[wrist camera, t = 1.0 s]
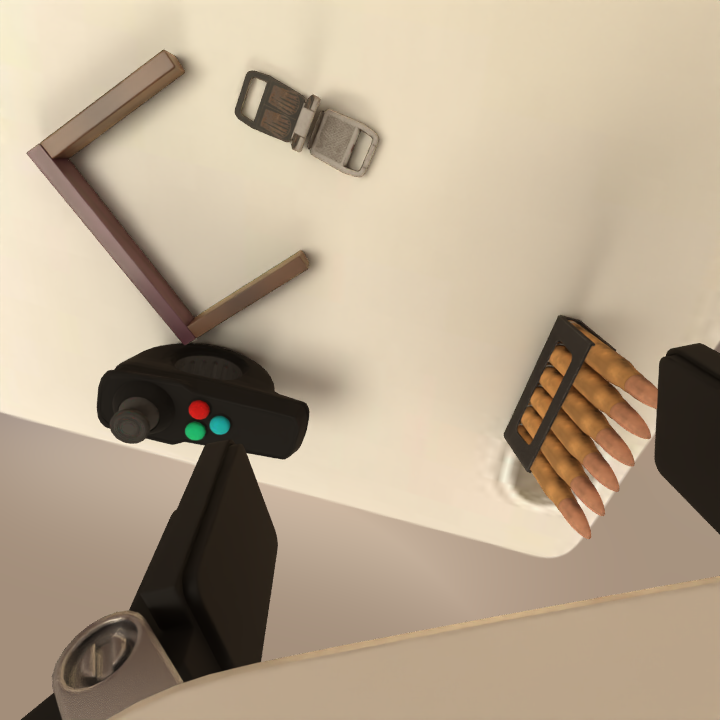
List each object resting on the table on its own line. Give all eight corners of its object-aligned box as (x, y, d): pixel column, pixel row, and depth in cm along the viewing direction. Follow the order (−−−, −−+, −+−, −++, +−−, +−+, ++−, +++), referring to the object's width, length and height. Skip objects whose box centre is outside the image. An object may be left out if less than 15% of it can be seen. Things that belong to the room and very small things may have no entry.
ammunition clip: (523, 441, 40) (596, 553, 29) (502, 436, 39) (568, 547, 28) (581, 320, 36) (691, 396, 25) (558, 314, 35) (660, 388, 24)
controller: (146, 319, 34) (76, 382, 25) (317, 360, 36) (312, 432, 27) (139, 373, 36) (72, 450, 26) (304, 409, 37) (294, 494, 28)
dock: (174, 55, 28) (163, 48, 26) (309, 262, 33) (308, 268, 31) (44, 152, 30) (25, 153, 28) (192, 335, 35) (184, 346, 33)
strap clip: (381, 133, 30) (388, 131, 26) (361, 181, 31) (365, 185, 27) (250, 66, 28) (237, 52, 24) (233, 119, 29) (218, 113, 25)
